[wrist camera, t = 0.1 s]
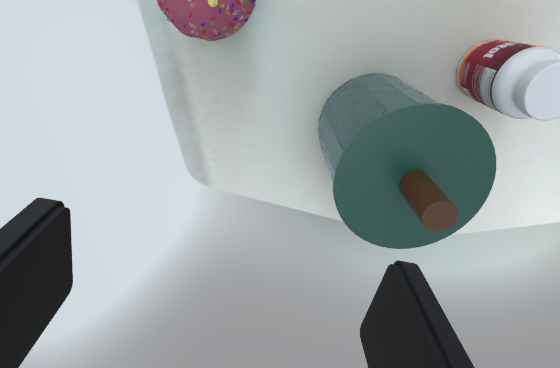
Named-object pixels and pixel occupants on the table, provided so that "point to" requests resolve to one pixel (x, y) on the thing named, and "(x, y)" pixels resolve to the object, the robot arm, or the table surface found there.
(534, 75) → the pill bottle
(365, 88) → the tin
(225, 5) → the cupcake
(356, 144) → the tin lid
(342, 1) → the table surface
